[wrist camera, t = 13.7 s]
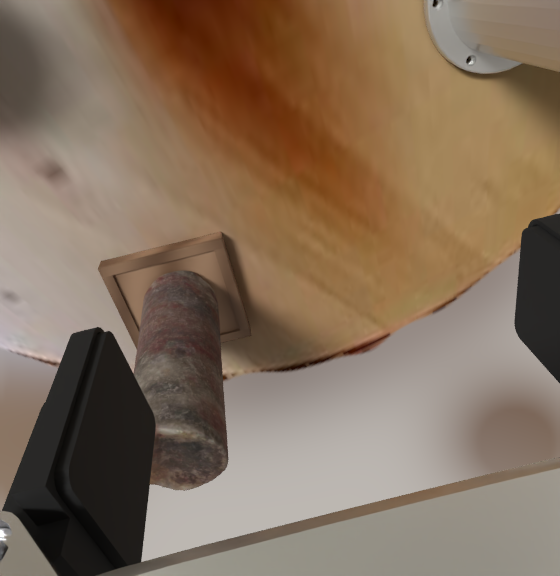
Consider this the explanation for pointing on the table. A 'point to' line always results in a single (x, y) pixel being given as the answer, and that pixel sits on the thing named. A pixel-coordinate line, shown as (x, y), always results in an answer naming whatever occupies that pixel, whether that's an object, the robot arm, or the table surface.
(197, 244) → the picture frame
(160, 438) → the grey brown rough cylinder
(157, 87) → the table surface
